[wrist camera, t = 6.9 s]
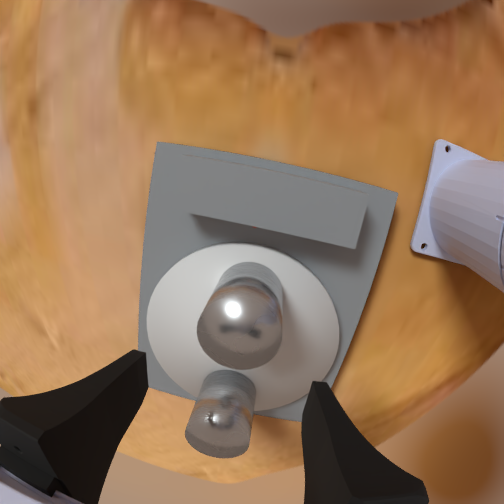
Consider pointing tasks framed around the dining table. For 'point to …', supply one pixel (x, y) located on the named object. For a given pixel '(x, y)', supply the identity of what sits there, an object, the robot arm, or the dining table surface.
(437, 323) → the dining table surface
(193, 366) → the scale
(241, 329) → the cylinder
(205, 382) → the cylinder
